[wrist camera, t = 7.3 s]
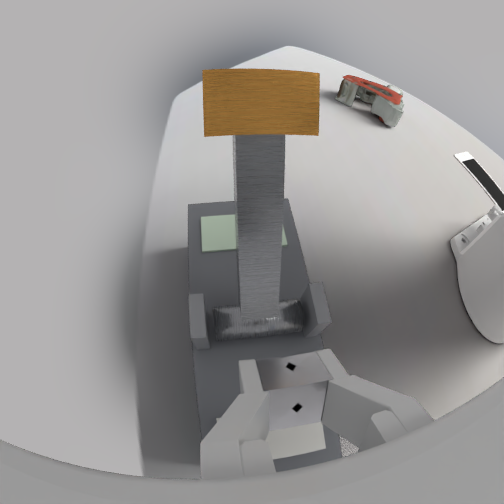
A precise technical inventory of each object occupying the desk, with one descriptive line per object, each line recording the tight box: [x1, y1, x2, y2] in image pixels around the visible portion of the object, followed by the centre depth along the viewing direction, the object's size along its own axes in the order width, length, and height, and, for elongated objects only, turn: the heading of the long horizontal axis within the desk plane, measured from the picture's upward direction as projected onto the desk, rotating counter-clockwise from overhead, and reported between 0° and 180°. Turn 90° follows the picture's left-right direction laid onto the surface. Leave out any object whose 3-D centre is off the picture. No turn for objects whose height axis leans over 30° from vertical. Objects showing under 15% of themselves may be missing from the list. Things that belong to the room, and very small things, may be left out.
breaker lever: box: [203, 69, 320, 341], centre depth 13 cm, size 3×5×14 cm
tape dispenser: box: [335, 75, 404, 127], centre depth 44 cm, size 18×5×20 cm
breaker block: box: [188, 199, 342, 472], centre depth 18 cm, size 20×8×9 cm, turn 7°
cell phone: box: [454, 152, 504, 213], centre depth 39 cm, size 8×16×1 cm, turn 26°
